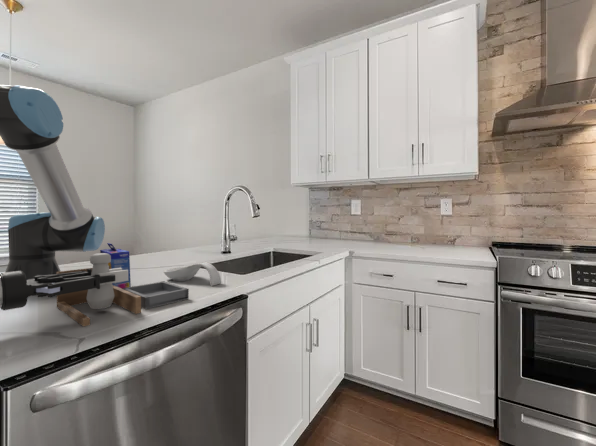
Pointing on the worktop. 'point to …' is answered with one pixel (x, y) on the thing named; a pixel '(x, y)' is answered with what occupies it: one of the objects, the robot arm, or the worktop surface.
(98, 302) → the salt shaker
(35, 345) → the worktop surface
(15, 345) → the worktop surface
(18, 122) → the robot arm
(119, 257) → the ink cartridge box
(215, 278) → the spoon rest
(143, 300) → the tray
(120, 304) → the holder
